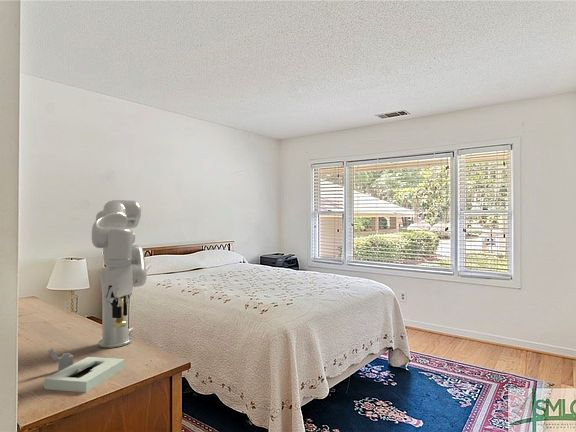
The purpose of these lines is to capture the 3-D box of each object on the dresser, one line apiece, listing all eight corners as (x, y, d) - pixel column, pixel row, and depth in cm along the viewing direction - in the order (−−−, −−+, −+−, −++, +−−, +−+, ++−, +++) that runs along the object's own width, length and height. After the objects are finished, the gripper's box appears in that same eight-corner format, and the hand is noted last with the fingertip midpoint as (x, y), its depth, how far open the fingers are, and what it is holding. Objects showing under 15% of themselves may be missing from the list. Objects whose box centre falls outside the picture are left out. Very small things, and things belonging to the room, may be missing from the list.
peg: (118, 323, 130) (118, 294, 130) (129, 324, 129) (129, 294, 129) (110, 327, 125) (110, 296, 125) (121, 327, 125) (121, 297, 125)
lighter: (72, 367, 124) (72, 343, 124) (73, 369, 122) (73, 344, 123) (47, 372, 120) (47, 348, 120) (47, 374, 118) (47, 349, 118)
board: (88, 365, 125) (88, 356, 125) (125, 368, 123) (125, 359, 123) (44, 389, 108) (44, 378, 108) (86, 392, 105) (86, 381, 105)
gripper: (124, 260, 136) (124, 310, 136) (94, 266, 120) (94, 322, 120) (142, 261, 134) (142, 311, 134) (114, 267, 119) (114, 323, 119)
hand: (119, 316), depth 127 cm, fingers closed on peg, 2 cm apart
